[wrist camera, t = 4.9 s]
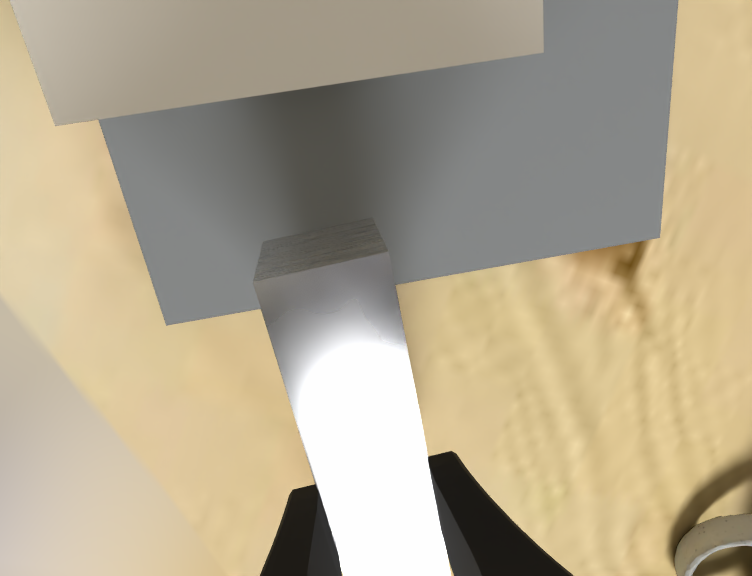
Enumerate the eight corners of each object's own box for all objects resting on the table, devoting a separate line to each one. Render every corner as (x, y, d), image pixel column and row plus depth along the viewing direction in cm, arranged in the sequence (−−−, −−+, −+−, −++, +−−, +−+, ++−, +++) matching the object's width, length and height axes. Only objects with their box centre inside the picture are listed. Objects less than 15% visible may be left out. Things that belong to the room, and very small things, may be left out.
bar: (372, 217, 12) (388, 251, 9) (443, 577, 16) (466, 659, 14) (263, 241, 11) (252, 282, 9) (367, 596, 16) (377, 682, 14)
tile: (426, -16, 13) (542, -114, 7) (433, 68, 14) (543, 52, 8) (152, 22, 13) (-6, -43, 6) (175, 107, 14) (54, 125, 7)
